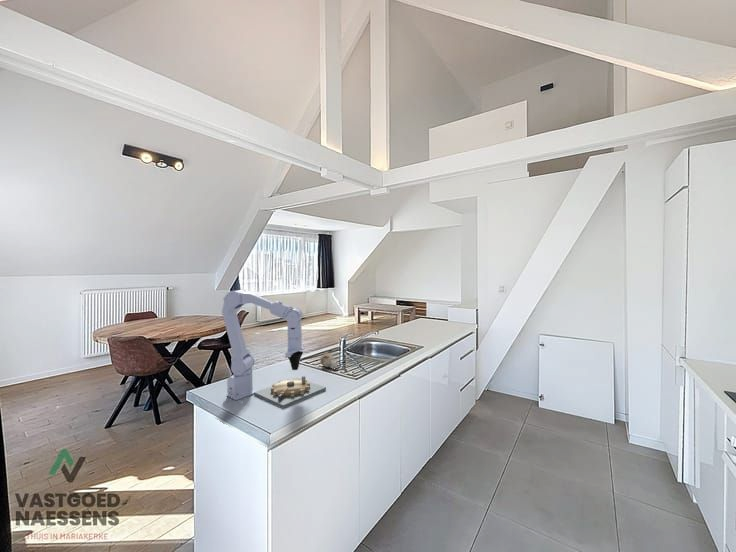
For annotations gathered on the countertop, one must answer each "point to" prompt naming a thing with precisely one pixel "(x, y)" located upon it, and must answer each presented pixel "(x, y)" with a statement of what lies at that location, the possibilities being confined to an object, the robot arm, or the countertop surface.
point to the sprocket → (290, 387)
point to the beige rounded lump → (328, 361)
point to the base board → (288, 400)
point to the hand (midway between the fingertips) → (295, 369)
